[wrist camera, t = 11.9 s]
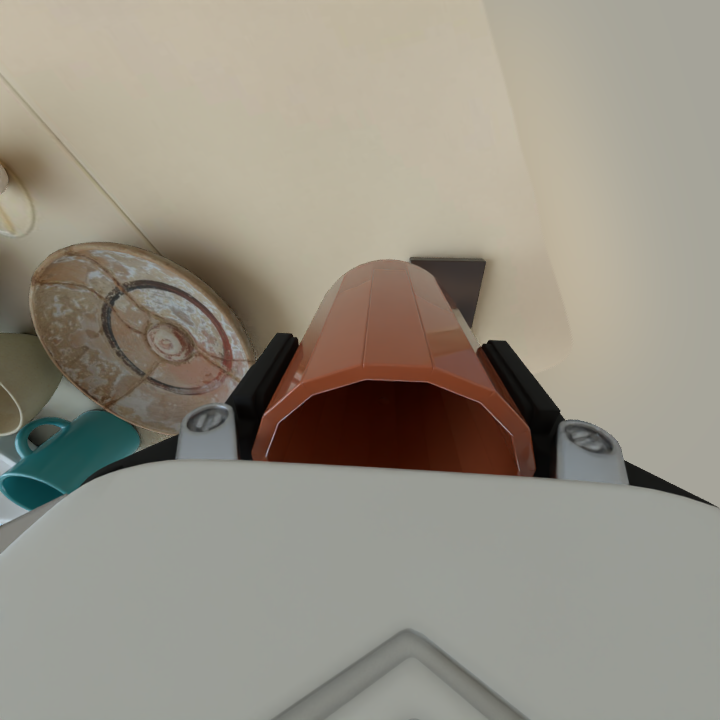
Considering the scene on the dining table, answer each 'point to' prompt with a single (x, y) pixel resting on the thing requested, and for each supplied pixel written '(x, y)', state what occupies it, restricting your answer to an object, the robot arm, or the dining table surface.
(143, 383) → the ceramic bowl
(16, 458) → the white sink basin
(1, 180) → the egg
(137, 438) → the cup
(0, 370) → the flower pot
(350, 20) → the dining table surface
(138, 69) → the dining table surface
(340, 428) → the mug
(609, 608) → the robot arm
